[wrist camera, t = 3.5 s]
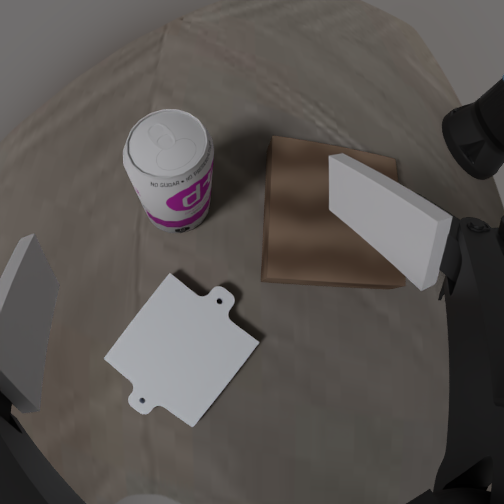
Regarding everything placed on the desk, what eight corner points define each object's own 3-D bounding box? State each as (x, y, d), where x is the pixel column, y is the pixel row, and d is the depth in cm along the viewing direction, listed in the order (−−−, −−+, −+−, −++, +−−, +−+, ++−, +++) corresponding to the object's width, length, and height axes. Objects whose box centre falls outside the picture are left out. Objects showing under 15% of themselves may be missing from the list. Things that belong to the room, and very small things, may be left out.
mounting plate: (181, 436, 34) (180, 442, 32) (97, 371, 34) (92, 373, 33) (269, 324, 39) (272, 324, 37) (184, 259, 39) (183, 256, 37)
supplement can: (223, 208, 41) (234, 147, 26) (170, 248, 39) (152, 204, 24) (184, 163, 41) (179, 90, 27) (133, 199, 39) (102, 138, 25)
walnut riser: (266, 150, 43) (272, 135, 39) (382, 170, 46) (395, 158, 42) (260, 281, 39) (267, 277, 36) (389, 289, 42) (405, 285, 38)
